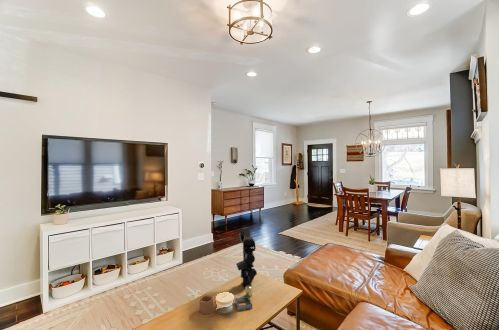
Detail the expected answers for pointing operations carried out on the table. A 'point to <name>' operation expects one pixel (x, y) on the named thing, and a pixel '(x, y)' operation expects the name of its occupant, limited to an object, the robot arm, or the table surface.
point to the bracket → (207, 304)
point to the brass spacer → (248, 291)
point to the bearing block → (243, 307)
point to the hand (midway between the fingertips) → (248, 279)
